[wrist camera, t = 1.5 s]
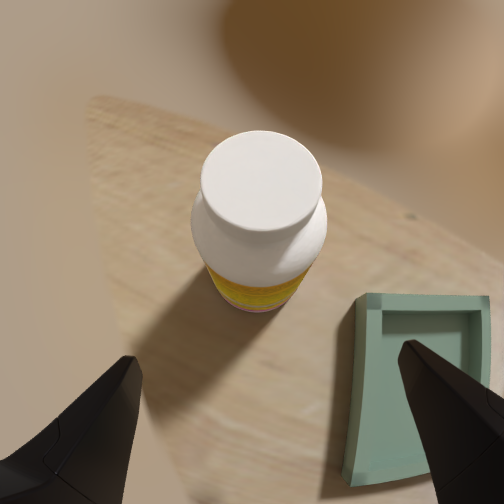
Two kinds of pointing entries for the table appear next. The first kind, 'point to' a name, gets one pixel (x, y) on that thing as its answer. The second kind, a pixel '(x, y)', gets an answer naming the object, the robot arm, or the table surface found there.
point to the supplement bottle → (259, 218)
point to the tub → (390, 382)
